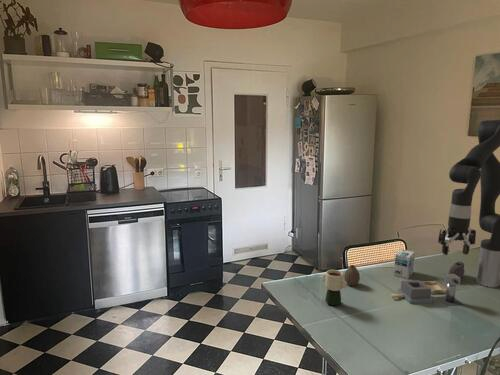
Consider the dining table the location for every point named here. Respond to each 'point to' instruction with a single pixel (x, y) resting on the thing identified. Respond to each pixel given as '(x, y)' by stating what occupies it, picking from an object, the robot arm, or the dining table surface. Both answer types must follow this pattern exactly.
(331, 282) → the character mug
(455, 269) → the perforated stone tool
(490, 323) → the dining table surface
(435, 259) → the dining table surface
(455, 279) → the grey tabbed block
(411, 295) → the block
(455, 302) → the mat
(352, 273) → the vase
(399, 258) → the light bulb box
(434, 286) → the tray
